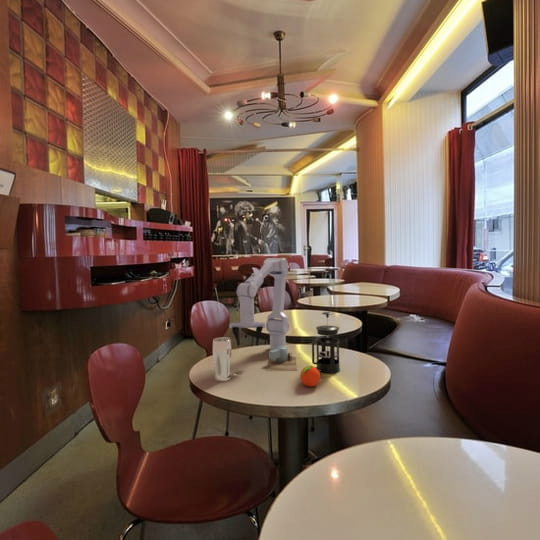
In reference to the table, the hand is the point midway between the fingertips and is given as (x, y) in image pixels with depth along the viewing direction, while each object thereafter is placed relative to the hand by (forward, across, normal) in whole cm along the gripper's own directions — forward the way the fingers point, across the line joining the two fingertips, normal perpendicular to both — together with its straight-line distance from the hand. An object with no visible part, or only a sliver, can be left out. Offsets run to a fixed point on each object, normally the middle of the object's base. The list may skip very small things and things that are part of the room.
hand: (247, 345), depth 149 cm
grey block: (+8, +12, +4) cm, 15 cm away
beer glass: (+9, -8, -13) cm, 18 cm away
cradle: (+9, +14, +2) cm, 16 cm away
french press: (+9, +32, -4) cm, 33 cm away
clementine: (+9, +24, -21) cm, 33 cm away
